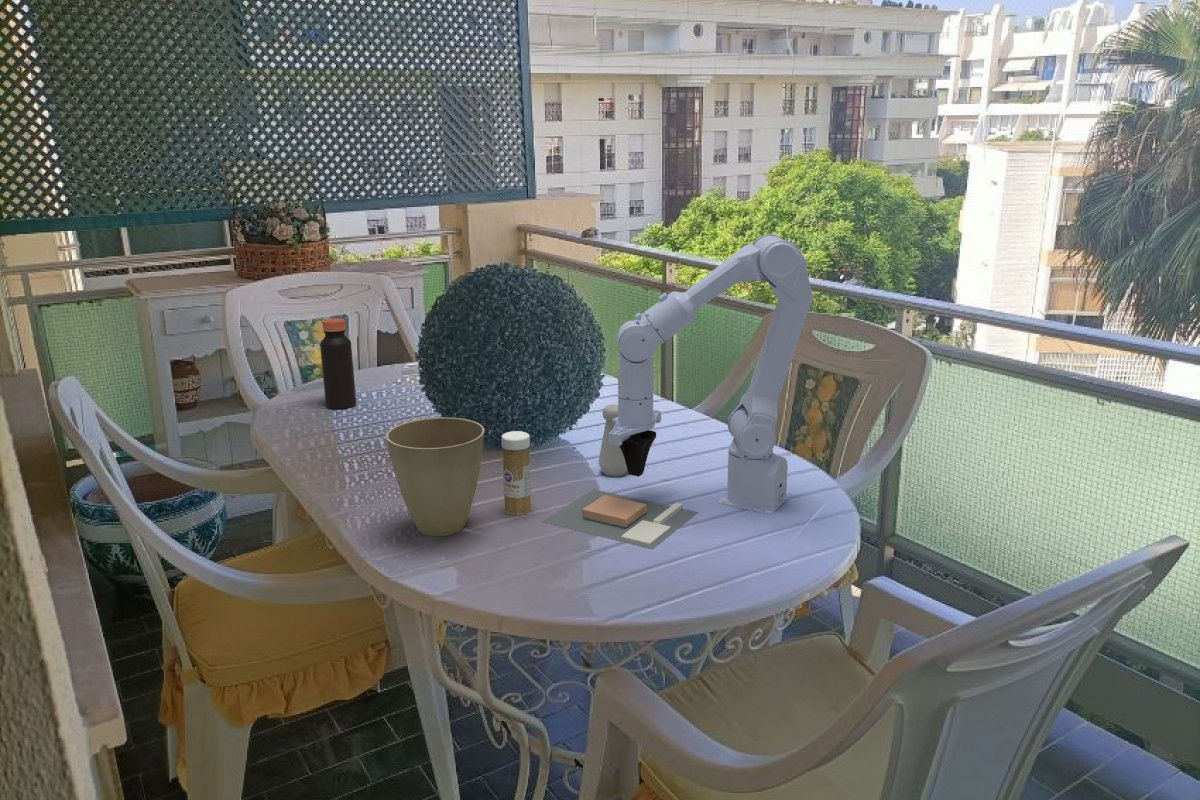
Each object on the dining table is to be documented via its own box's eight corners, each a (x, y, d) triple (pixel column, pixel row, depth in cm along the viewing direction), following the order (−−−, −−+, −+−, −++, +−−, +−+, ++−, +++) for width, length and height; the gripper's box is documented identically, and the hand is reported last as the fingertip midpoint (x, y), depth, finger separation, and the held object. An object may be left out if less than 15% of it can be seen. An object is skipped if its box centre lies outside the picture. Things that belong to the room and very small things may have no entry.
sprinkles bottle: (499, 515, 149) (495, 436, 145) (512, 505, 153) (510, 428, 149) (523, 519, 147) (521, 440, 143) (537, 509, 151) (534, 432, 147)
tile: (646, 504, 147) (625, 519, 142) (646, 513, 148) (625, 529, 142) (604, 495, 151) (582, 509, 146) (604, 504, 152) (582, 518, 146)
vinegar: (348, 399, 215) (341, 316, 209) (361, 406, 210) (354, 320, 204) (321, 405, 211) (312, 320, 205) (333, 411, 206) (325, 324, 200)
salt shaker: (593, 476, 165) (592, 408, 161) (607, 466, 170) (607, 400, 166) (622, 482, 162) (622, 412, 159) (636, 471, 167) (636, 404, 164)
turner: (665, 504, 151) (665, 500, 151) (693, 510, 149) (693, 506, 148) (620, 538, 139) (620, 533, 139) (649, 545, 136) (649, 540, 136)
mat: (698, 514, 148) (698, 512, 148) (652, 551, 135) (652, 549, 135) (593, 491, 158) (593, 489, 158) (541, 523, 145) (541, 521, 145)
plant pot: (375, 527, 144) (366, 432, 140) (452, 501, 154) (446, 411, 150) (428, 556, 134) (422, 454, 130) (507, 527, 144) (504, 431, 140)
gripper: (635, 382, 155) (635, 457, 159) (591, 403, 143) (592, 484, 147) (672, 387, 152) (671, 464, 156) (630, 409, 140) (630, 492, 144)
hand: (635, 474), depth 151 cm, fingers closed
